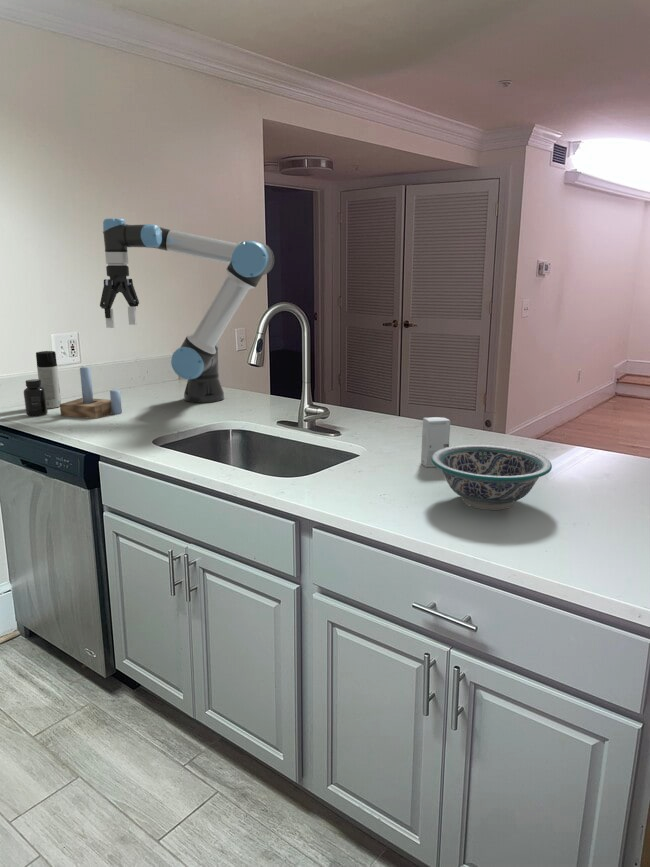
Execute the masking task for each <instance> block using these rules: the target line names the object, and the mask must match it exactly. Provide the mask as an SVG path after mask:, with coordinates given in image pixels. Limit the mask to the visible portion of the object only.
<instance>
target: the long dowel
mask: <svg viewBox="0 0 650 867" xmlns="http://www.w3.org/2000/svg"><path fill="white" fill-rule="evenodd" d="M91 369H92V368H91V367H90V366H82V367H79V371H80V372H79V374H80V384H81V394H82V395H81V396H82V397H81V398H83V403H84V404H91V403H93V399H94V393H93V392H94V391H93V383H92V371H91Z"/></svg>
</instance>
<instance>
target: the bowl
mask: <svg viewBox="0 0 650 867" xmlns="http://www.w3.org/2000/svg"><path fill="white" fill-rule="evenodd" d="M431 460H432V463H433V464H434V465H435V466H436V467H437V468H438V469H440V470H441V471H442V473H443V476H444V478H445V480H446V483H447V484H448V486H449V487H450V489H451V490H452V491H453V492H454V493H455V494H456V495H458V496H460V497H462V502H463V503H464V504H466V505H467V506H469V507H472V508H475V509H480V510H486V511H489V510H490V511H501V510H506V509H510V508H511V507H512V506H513V505H514V502H517V501H519V500H522V499H523V498H524V497H526V496H527V495H528V494H529V493H530V492H531V490H532V489H533V487H534V485H536V482H537V481H538V480H539V478H541V477H543V476H545V475H548V474H549V473H550V472H551V471H552V468H553V465H552V463H551V461H550V460H549V459H548V458H546V457H545V456H543V455H541V454H538V453H536V452H534V451H530V450H527V449H522V448H517V447H513V446H506V445H505V446H504V445H498V444H497V445H496V444H482V443H481V444H477V443H475V444H459V445H453V446H452V445H451V446H449V447H447V448H443V449H440V450H438V451H436V452H435V453H434V454H433V455H432V457H431Z"/></svg>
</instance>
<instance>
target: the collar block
mask: <svg viewBox="0 0 650 867" xmlns="http://www.w3.org/2000/svg"><path fill="white" fill-rule="evenodd" d="M59 409H60V411H59V412H60V416H61V417H71V416H73V418H83V417H88V418H87V419H95V418H96V419H98V417H99V418H101V416H102V417H104V415H105V416H107V414H108V415H109V414H112V410H111V399H107V398H106V399H105V398H93V403H91V404H84V403H83V397H81V398H76V399H73V400H70V401H66V402H63V403H62V402H61V404H60V407H59Z"/></svg>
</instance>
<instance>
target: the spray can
mask: <svg viewBox="0 0 650 867" xmlns="http://www.w3.org/2000/svg"><path fill="white" fill-rule="evenodd" d="M35 358H36V359H35V360H36V368H37V376H38V377H37V379H40V380H41V387H43V388H44V389H45V393H46V402H47V409H50V408H51V409H58V408H60V404H62V398H61V390H60V380H59V371H58V364H57V363H58V362H57V353H56V351H53V350H44V351H42V350H41V351H37V352H35ZM57 407H58V408H57Z"/></svg>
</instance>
